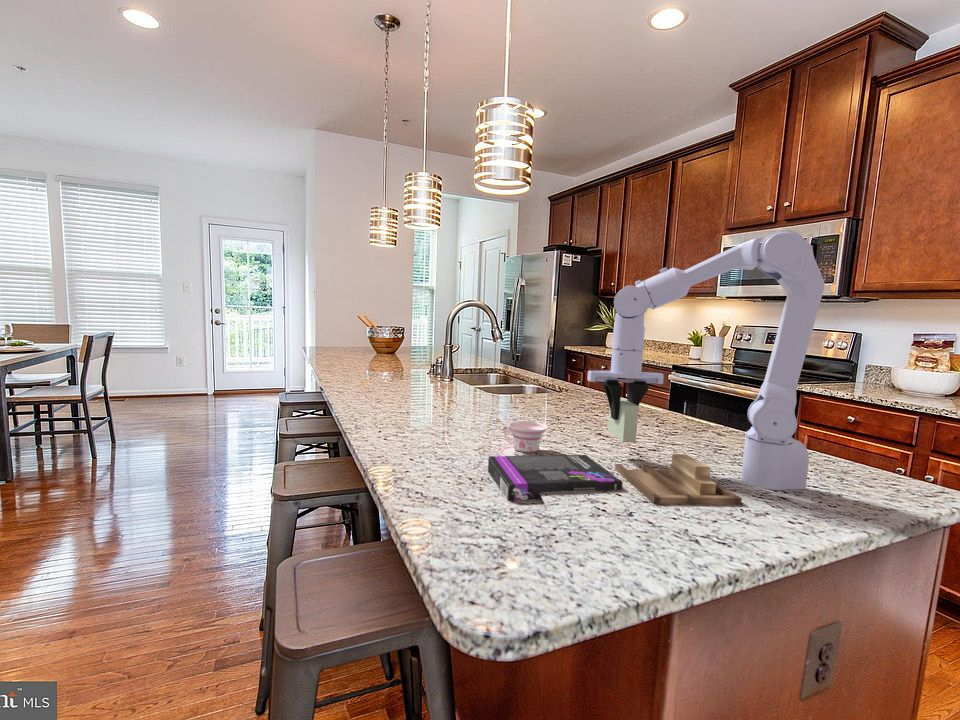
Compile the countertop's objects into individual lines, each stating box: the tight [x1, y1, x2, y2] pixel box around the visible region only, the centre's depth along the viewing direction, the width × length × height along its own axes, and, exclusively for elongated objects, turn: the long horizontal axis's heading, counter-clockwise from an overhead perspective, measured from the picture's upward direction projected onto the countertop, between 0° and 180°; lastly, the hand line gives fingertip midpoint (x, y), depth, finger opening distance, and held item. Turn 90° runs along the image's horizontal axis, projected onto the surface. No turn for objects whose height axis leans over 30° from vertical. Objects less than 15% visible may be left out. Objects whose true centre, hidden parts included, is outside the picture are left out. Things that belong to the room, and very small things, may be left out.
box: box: [487, 454, 624, 501], centre depth 82 cm, size 14×4×20 cm
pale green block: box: [607, 397, 640, 444], centre depth 93 cm, size 2×8×7 cm, turn 5°
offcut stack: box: [669, 453, 717, 496], centre depth 81 cm, size 3×10×4 cm, turn 5°
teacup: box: [496, 420, 550, 456], centre depth 98 cm, size 12×12×6 cm
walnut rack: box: [614, 463, 743, 506], centre depth 81 cm, size 14×16×2 cm
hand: (622, 418), depth 93 cm, fingers closed on pale green block, 2 cm apart
